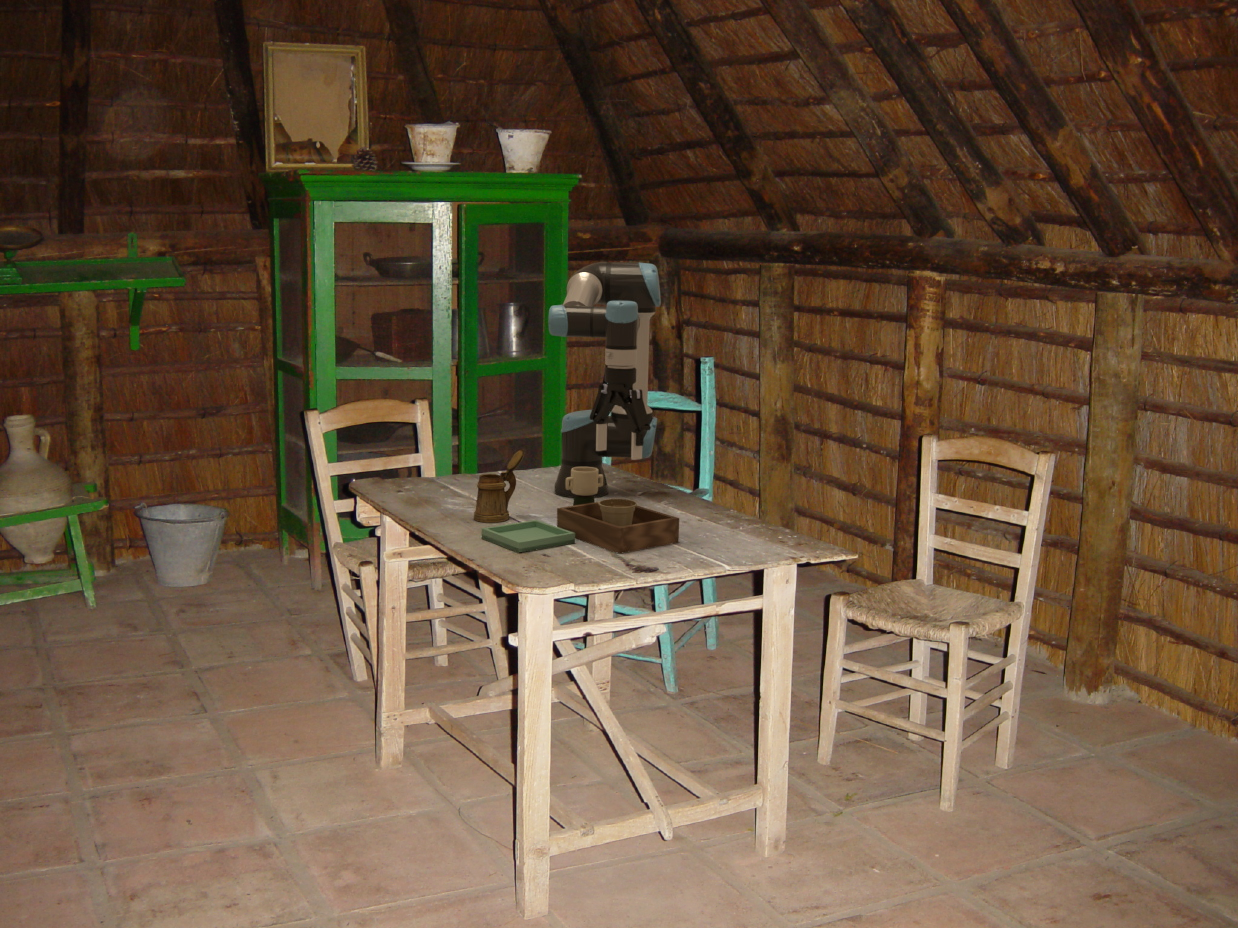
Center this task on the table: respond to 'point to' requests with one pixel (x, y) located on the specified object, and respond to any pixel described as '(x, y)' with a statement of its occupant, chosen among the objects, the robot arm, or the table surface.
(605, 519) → the flower pot
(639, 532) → the walnut crate
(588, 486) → the character mug
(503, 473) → the wooden mug
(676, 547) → the table surface
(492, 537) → the green tray
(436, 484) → the table surface
